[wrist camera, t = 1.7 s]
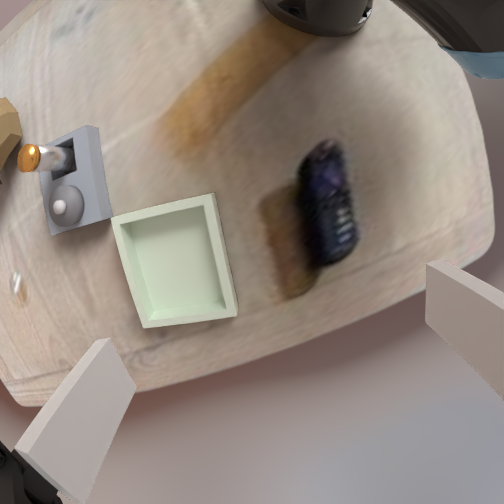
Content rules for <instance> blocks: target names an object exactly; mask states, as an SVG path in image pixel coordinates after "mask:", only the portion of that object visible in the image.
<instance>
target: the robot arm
mask: <svg viewBox="0 0 504 504" xmlns="http://www.w3.org/2000/svg"><path fill="white" fill-rule="evenodd" d="M390 1H391V2H393V3H394V4H395V5H397V6H398V7H399V8H400V9H402V10H403V11H404V12H405V13H406V14H408V15H409V16H410V17H411V18H412V19H413V20H415V21H416V22H417V23H418V24H419V25H420V26H421V27H422V28H423V29H424V30H425V31H427V32H428V33H429V34H430V35H431V36H432V37H433V38H434V39H435V40H436V41H437V42H438V45H439V46H440V48H441V49H443V50H444V51H446V52H447V53H448V54H449V55H450V56H451V57H452V58H453V59H454V60H455V61H456V62H457V63H458V64H459V65H460V66H461V67H462V68H463V69H464V70H465V71H467V72H468V73H469V74H471V75H473V76H476V77H479V78H485V79H502V78H504V0H390ZM263 2H264V4H265V6H266V7H267V9H268V10H269V11H270V12H271V13H272V14H273V15H274V16H275V17H277V18H278V19H279V20H281V21H282V22H284V23H285V24H287V25H289V26H291V27H293V28H295V29H298V30H300V31H303V32H306V33H310V34H314V35H320V36H343V35H347V34H351V33H353V32H355V31H357V30H358V29H360V28H361V27H362V26H363V24H364V23H365V22H366V21H367V20H368V18H369V16H370V14H371V12H372V6H373V0H263ZM425 315H426V316H425V322H426V323H427V324H428V325H429V326H430V327H431V328H432V329H433V330H434V331H435V332H436V333H438V334H439V335H440V336H441V337H442V338H443V339H444V340H445V341H446V342H447V343H448V344H449V345H450V346H451V347H452V348H453V349H454V350H455V351H457V353H458V354H459V355H461V356H462V357H463V358H464V359H465V360H466V361H467V362H468V363H469V364H470V365H471V366H472V367H473V368H474V369H475V370H476V371H477V373H478V374H479V375H480V376H482V378H483V379H484V380H485V381H486V382H487V383H488V384H489V385H490V386H491V387H492V388H493V389H494V390H495V391H496V392H497V393H498V394H499V395H500V397H501V398H502V399H503V400H504V293H503V292H501V291H500V290H498V289H496V288H494V287H493V286H491V285H489V284H487V283H485V282H483V281H482V280H480V279H478V278H476V277H474V276H472V275H471V274H469V273H467V272H465V271H463V270H461V269H459V268H457V267H455V266H453V265H451V264H449V263H447V262H445V261H443V260H441V259H437V260H434V261H431V262H429V263H426V313H425ZM136 388H137V387H136V385H135V383H134V382H133V380H132V378H131V377H130V375H129V373H128V371H127V369H126V368H125V366H124V364H123V362H122V360H121V358H120V356H119V355H118V353H117V351H116V349H115V347H114V345H113V343H112V341H111V339H110V338H105V339H97V340H96V341H95V342H94V343H93V345H92V346H91V347H90V348H89V349H88V351H87V352H86V353H85V354H84V355H83V357H82V358H81V359H80V360H79V361H78V363H77V364H76V365H75V366H74V368H73V369H72V370H71V371H70V373H69V374H68V375H67V376H66V378H65V379H64V380H63V382H62V383H61V384H60V385H59V387H58V388H57V389H56V391H55V392H54V393H53V394H52V396H51V397H50V398H49V400H48V401H47V402H46V404H45V405H44V406H43V408H42V409H41V410H40V412H39V413H38V415H37V416H36V417H35V419H34V420H33V421H32V423H31V424H30V426H29V427H28V429H27V430H26V431H25V433H24V434H23V436H22V437H21V439H20V440H19V441H18V443H17V444H16V446H15V447H14V450H13V451H12V452H10V451H9V450H8V449H7V448H6V447H5V446H4V445H3V443H2V442H1V441H0V504H63V503H62V501H61V499H60V498H59V497H58V496H57V495H56V494H57V492H58V491H60V492H61V493H62V494H63V495H64V496H66V497H67V498H68V499H70V500H72V501H75V502H78V503H81V504H86V502H87V500H88V497H89V495H90V492H91V489H92V487H93V485H94V482H95V480H96V477H97V475H98V473H99V470H100V468H101V465H102V463H103V461H104V458H105V456H106V454H107V452H108V449H109V447H110V445H111V442H112V440H113V438H114V436H115V433H116V431H117V429H118V427H119V425H120V422H121V420H122V418H123V416H124V414H125V411H126V409H127V407H128V405H129V403H130V401H131V399H132V397H133V395H134V393H135V390H136Z"/></svg>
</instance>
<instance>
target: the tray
mask: <svg viewBox="0 0 504 504" xmlns="http://www.w3.org/2000/svg"><path fill="white" fill-rule="evenodd" d="M111 222H112V227H113V231H114V235H115V239H116V243H117V247H118V250H119V254H120V258H121V261H122V265H123V268H124V272H125V275H126V278H127V282H128V285H129V288H130V291H131V294H132V297H133V300H134V303H135V306H136V309H137V312H138V315H139V318H140V320H141V323H142V326H143V328H152V327H161V326H169V325H177V324H185V323H193V322H200V321H207V320H214V319H221V318H228V317H234V316H237V313H238V300H237V296H236V291H235V287H234V282H233V277H232V273H231V268H230V264H229V259H228V254H227V249H226V245H225V240H224V235H223V230H222V225H221V220H220V215H219V211H218V206H217V201H216V195H215V192H214V193H210V194H205V195H200V196H196V197H191V198H187V199H182V200H178V201H173V202H169V203H165V204H161V205H157V206H153V207H149V208H145V209H141V210H137V211H133V212H129V213H125V214H122V215H119V216H115V217H112V218H111Z"/></svg>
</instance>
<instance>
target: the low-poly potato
mask: <svg viewBox="0 0 504 504" xmlns="http://www.w3.org/2000/svg"><path fill="white" fill-rule="evenodd" d="M21 138H22V131H21V126H20V121H19V116H18V112H17V111H16V109H15V108H14V107H13V106H12V104H11V103H10V102H9V100H8V99H7V98H6V97H4V98H1V99H0V172H1V170H2V168H3V166H4V164H5V161H6V160H7V158H8V156H9V154H10V153H11V152H12V150H13V149H14V147H15V146H16V145H17V143H18V142H19V140H20V139H21ZM0 184H2V182H1V181H0Z"/></svg>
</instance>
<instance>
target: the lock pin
mask: <svg viewBox="0 0 504 504" xmlns="http://www.w3.org/2000/svg"><path fill="white" fill-rule="evenodd" d="M17 165H18V168H19V170H20V171H21V172H46V171H76V170H77V167H76V160H75V152H74V149H71V148H63V147H54V146H44V145H33V144H26V145H24V146H23V147H22V148H21V149H20V151H19V154H18V157H17Z"/></svg>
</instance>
